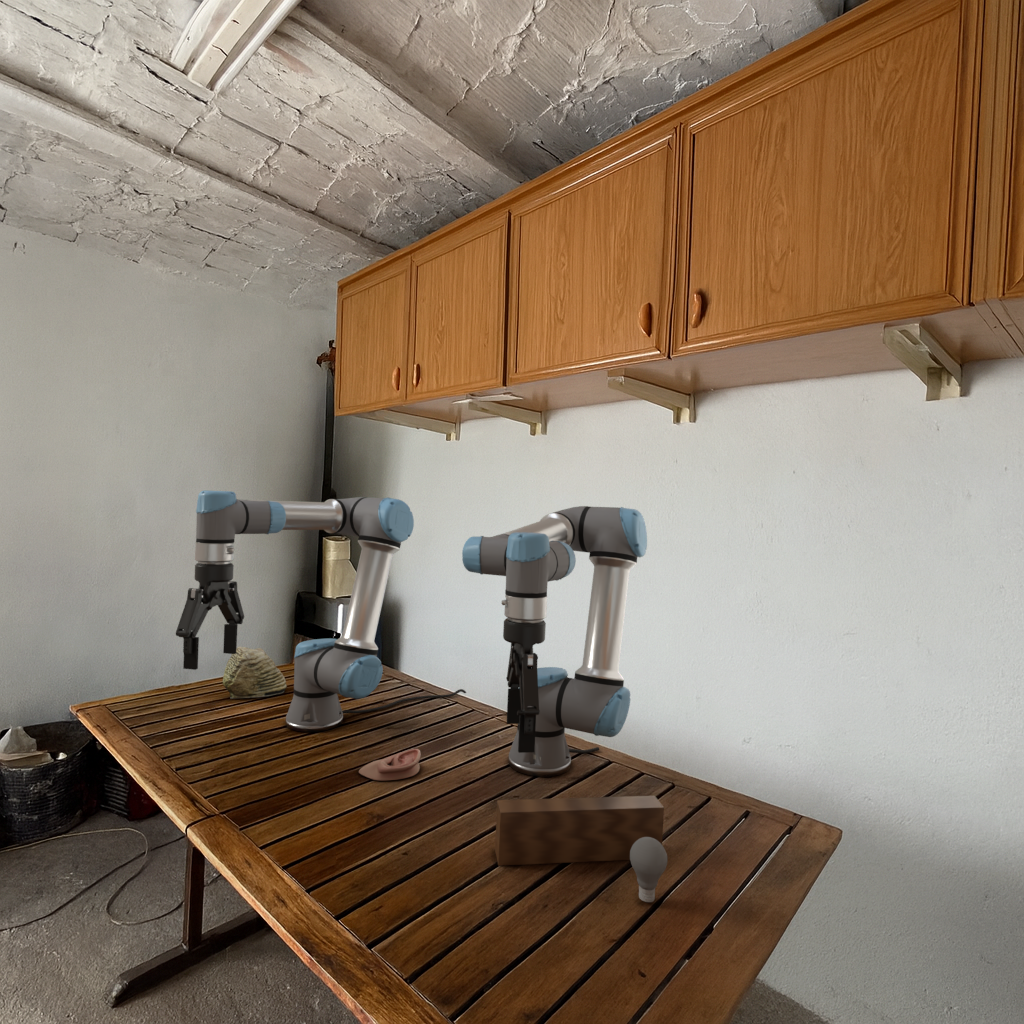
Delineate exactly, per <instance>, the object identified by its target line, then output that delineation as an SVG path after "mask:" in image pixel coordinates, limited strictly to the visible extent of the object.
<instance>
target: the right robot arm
mask: <svg viewBox="0 0 1024 1024" xmlns="http://www.w3.org/2000/svg"><path fill="white" fill-rule="evenodd" d="M647 549H648V533H647V526H646V522H645V519H644V516H643V513H641V511H639V510H638V509H635V508H628V507H623V506H620V507H613V506H612V507H611V506H589V505H580V506H573V507H568V508H564V509H561V510H557V511H554V512H550V513H548V514H547V513H546V514H545V515H544V516H542V517H541V519H540V520H539V521H536V522H534V523H531V524H527V525H524V526H522V527H521V526H520V527H518V528H515V529H512V530H509V531H506V532H504V533H500V534H497V535H493V536H484V535H480V536H474V535H473V536H471V537H469V538H468V539H467V540H466V541H465V542H464V544H463V547H462V552H461V554H462V556H461V558H462V564H463V567H464V568H465V570H467V571H468V572H470V573H475V574H480V575H490V576H499V577H505V590H504V591H505V592H504V593H505V595H504V598H505V599H502V600H501V606H504V613H503V614H504V616H505V617H506V618H504V620H503V632H502V638H503V640H504V641H506V642H507V643H510V651H509V658H508V666H507V674H506V682H507V687H508V689H507V707H506V724H507V725H516V727H517V728H516V733H515V735H514V738H513V741H512V743H511V747H510V749H509V752H508V762H507V763H508V765H509V767H510V768H512V769H513V770H514V771H516V772H518V773H520V774H522V775H527V776H531V777H542V778H543V777H545V778H547V777H555V776H560V775H563V774H565V773H567V772H568V771H569V770H570V768H571V763H572V756H571V754H570V753H574V754H581V755H582V754H585V755H586V754H591V753H595V752H599V751H600V747H599V746H597V747H593V748H588V749H576V748H569V746H568V742H567V738H566V735H565V729H569V730H573V731H577V732H582V733H586V734H590V735H594V736H595V737H607V738H613V737H615V736H617V735H618V734H619V733H620V732H621V731H622V729H623V727H624V725H625V723H626V719H627V717H628V714H629V710H630V705H631V691H630V689H629V688H628V687H626V686H624V683H625V678H624V677H623V676H622V674H621V673H620V670H619V669H620V659H621V651H622V641H623V634H624V624H625V623H624V622H625V615H626V605H627V597H628V596H627V595H628V588H629V579H630V572H631V570H632V569H634V568H635V567H637V563H638V558H642V557H644V556H645V555H646V552H647V551H646V550H647ZM575 552H580V553H588V554H589V555H588V561H590V562H591V564H592V565H593V572H592V573H593V574H592V581H591V589H590V598H589V599H590V600H589V606H588V607H589V608H588V615H587V616H588V617H587V622H586V633H585V640H584V649H583V656H582V657H583V658H582V664H581V666H580V667H578V668H577V669H576V670H574V671H575V672H574V678H573V677H568V676H569V673H568V670H567V669H565V668H563V667H556V666H545V667H544V666H543V667H538V659H539V656H538V654H537V653H536V652H534V646H535V645H540V644H542V643H544V642H545V640H546V625H547V623H546V621H545V619H546V618H547V609H548V582H552V581H554V582H555V581H557V582H558V581H561V580H563V579H564V578H567V577H568V576H569V575H570V574H572V572H573V571H574V569H575V567H576V554H575Z"/></svg>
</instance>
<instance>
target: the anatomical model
mask: <svg viewBox="0 0 1024 1024" xmlns="http://www.w3.org/2000/svg"><path fill="white" fill-rule="evenodd" d="M421 756H422V754H421V750H420V749H419V748H412V749H408V750H404V751H402V752H398V753H396V754H393V755H391V756H388V757H384V758H382V759H377V760H373V761H371V762H369V763H367V764H365V765H363V766H362V767H361V768H360V769H359V770H358V773H359V774H360V775H361V776H363V777H366V778H368V779H371V780H373V781H379V782H380V781H381V782H382V781H397V780H403V779H407V778H410V777H413V776H415V775H417V774H418V773H419V771H420V768H421V766H420V763H419V762H420V760H421Z"/></svg>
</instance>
